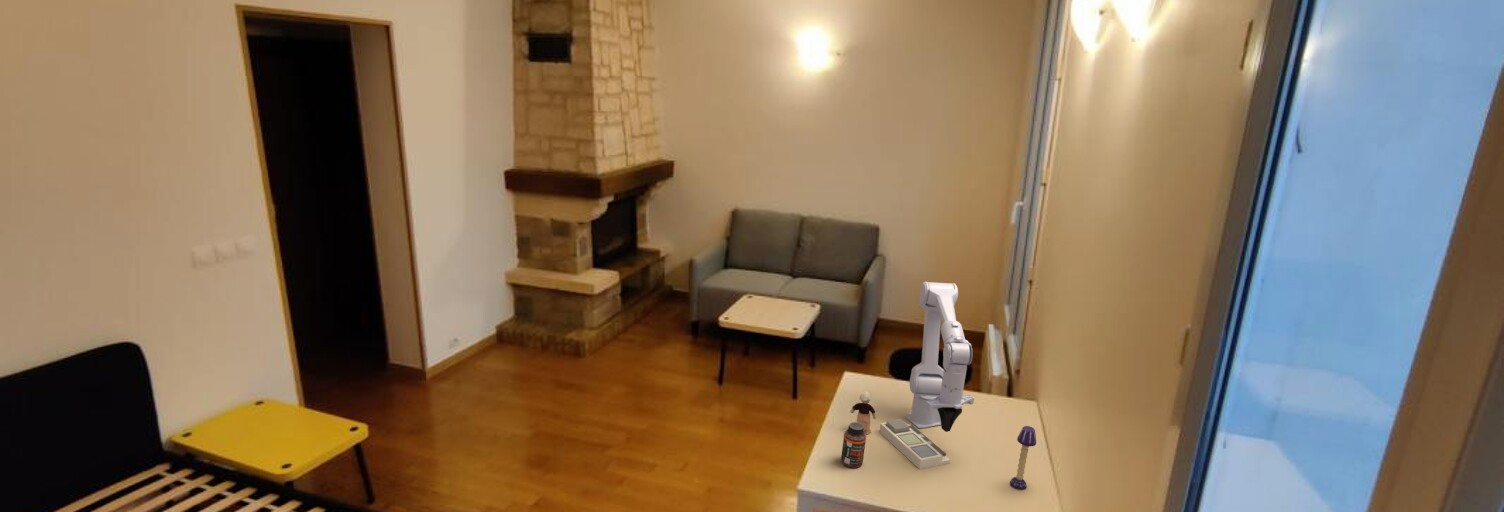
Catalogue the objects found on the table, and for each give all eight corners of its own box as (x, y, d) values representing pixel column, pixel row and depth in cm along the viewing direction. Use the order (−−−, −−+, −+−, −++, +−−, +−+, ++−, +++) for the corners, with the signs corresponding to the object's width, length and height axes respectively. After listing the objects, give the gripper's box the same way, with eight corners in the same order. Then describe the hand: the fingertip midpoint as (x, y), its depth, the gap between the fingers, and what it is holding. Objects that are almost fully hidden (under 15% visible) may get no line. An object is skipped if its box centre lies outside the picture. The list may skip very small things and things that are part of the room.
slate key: (925, 449, 198) (926, 445, 197) (935, 459, 194) (936, 454, 193) (911, 452, 196) (911, 448, 196) (921, 461, 192) (921, 457, 191)
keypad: (907, 427, 212) (908, 418, 211) (949, 463, 194) (951, 454, 194) (879, 431, 208) (880, 423, 208) (919, 469, 191) (920, 460, 190)
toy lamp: (1005, 479, 189) (1016, 423, 184) (1022, 479, 189) (1033, 423, 184) (1013, 489, 184) (1024, 433, 179) (1030, 490, 184) (1042, 433, 180)
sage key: (911, 438, 203) (912, 433, 203) (921, 446, 199) (922, 442, 199) (897, 440, 202) (898, 436, 201) (907, 449, 197) (908, 444, 197)
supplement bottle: (848, 470, 188) (853, 433, 184) (836, 459, 193) (840, 422, 189) (867, 466, 190) (871, 428, 187) (854, 454, 195) (858, 418, 192)
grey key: (899, 423, 209) (900, 418, 208) (909, 431, 205) (909, 426, 204) (886, 425, 207) (886, 421, 207) (895, 433, 203) (895, 429, 202)
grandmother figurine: (873, 429, 210) (878, 390, 206) (874, 435, 206) (879, 396, 202) (848, 426, 210) (852, 387, 207) (848, 432, 207) (852, 393, 203)
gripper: (939, 394, 183) (932, 441, 187) (984, 388, 189) (976, 433, 192) (923, 382, 189) (917, 427, 193) (967, 376, 195) (959, 420, 199)
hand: (945, 429), depth 193 cm, fingers closed
